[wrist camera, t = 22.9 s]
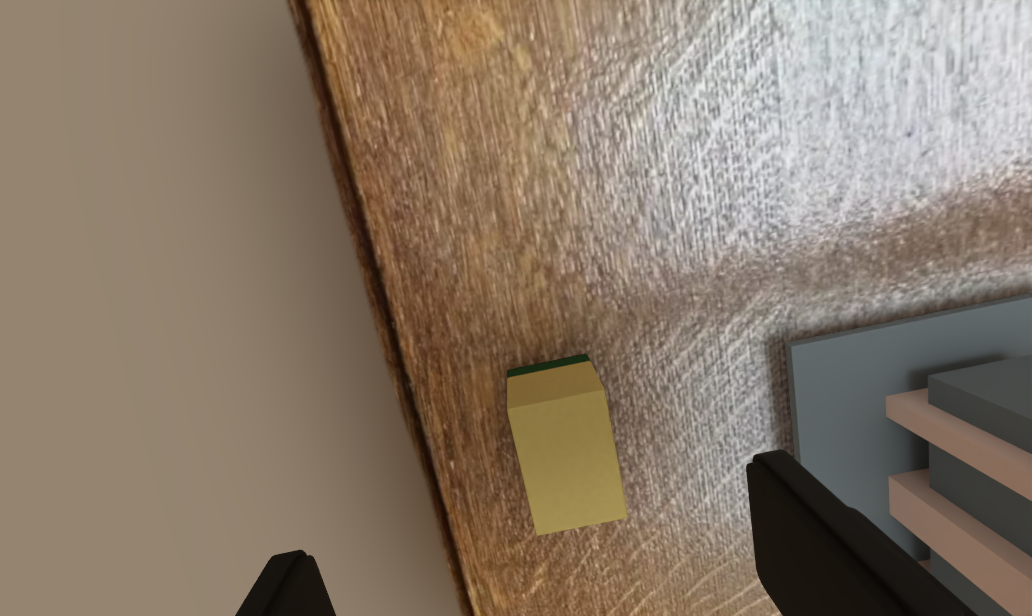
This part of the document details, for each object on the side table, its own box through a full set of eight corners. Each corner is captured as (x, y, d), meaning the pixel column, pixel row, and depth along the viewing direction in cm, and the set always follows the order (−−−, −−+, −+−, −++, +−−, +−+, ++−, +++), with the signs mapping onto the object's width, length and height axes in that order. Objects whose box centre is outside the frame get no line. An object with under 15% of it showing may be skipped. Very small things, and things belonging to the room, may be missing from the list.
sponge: (506, 369, 23) (506, 409, 19) (586, 353, 23) (605, 389, 19) (531, 476, 25) (536, 536, 20) (607, 461, 25) (628, 518, 20)
